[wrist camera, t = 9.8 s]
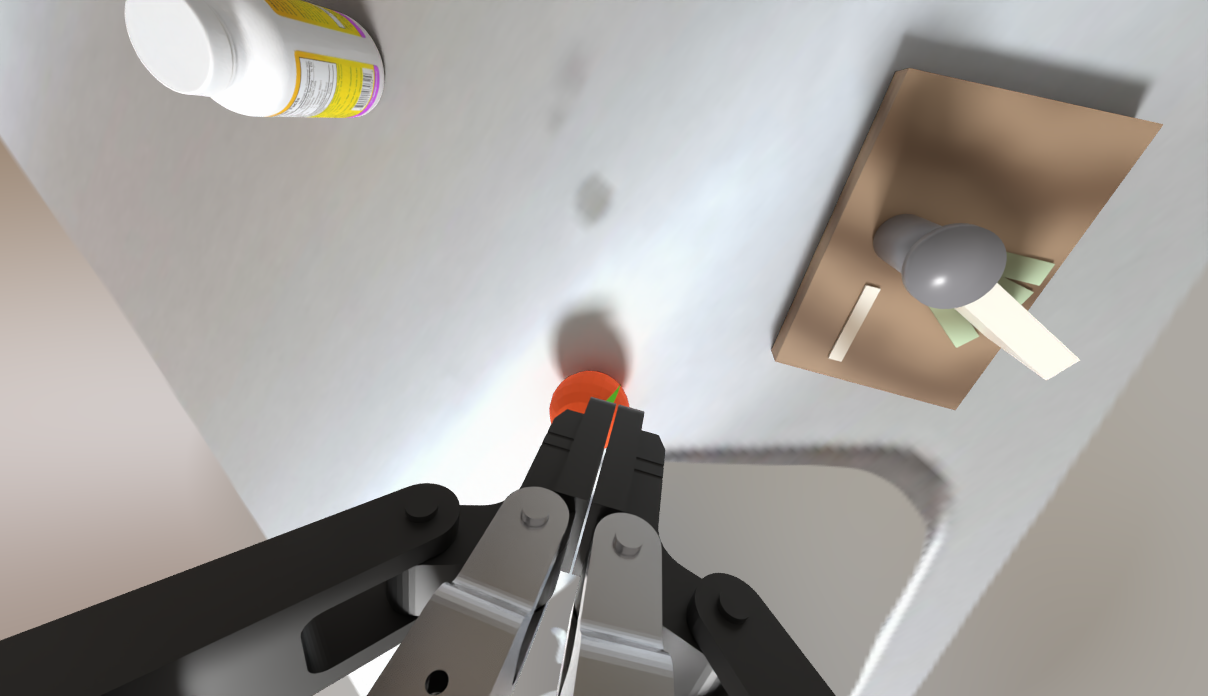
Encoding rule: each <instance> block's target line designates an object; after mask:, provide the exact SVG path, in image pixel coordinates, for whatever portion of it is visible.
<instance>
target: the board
mask: <svg viewBox="0 0 1208 696" xmlns="http://www.w3.org/2000/svg"><path fill="white" fill-rule="evenodd" d="M1162 126H1163V124H1159V123H1155V122H1150V121H1146V120H1141V119H1137V118H1132V117H1128V116H1123V115H1119V114H1114V113H1110V112H1105V111H1101V110H1096V109H1092V108H1087V107H1083V106H1078V105H1074V104H1069V103H1065V102H1060V101H1056V100H1051V99H1047V98H1042V97H1038V96H1033V95H1029V94H1024V93H1020V92H1015V91H1011V90H1006V89H1002V88H997V87H993V86H988V85H984V84H979V83H975V82H970V81H966V80H961V79H957V78H952V77H948V76H943V75H939V74H934V73H930V72H925V71H921V70H916V69H912V68H907V69H903V70H900V71H896V72H895V74H894V76H893V78H892V81H891V83H890V85H889V87H888V90H887V92H886V94H885V96H884V99H883V101H882V103H881V105H880V107H879V110H878V112H877V114H876V116H875V119H874V121H873V123H872V125H871V128H870V130H869V132H868V134H867V137H866V139H865V141H864V143H863V146H862V148H861V150H860V152H859V155H858V157H857V159H856V161H855V164H854V166H853V168H852V170H851V172H850V175H849V177H848V179H847V181H846V184H845V186H844V188H843V190H842V193H841V195H840V197H839V199H838V202H837V204H836V206H835V208H834V211H833V213H832V215H831V217H830V220H829V222H828V224H827V226H826V229H825V231H824V233H823V235H822V237H821V240H820V242H819V244H818V246H817V249H816V251H815V253H814V255H813V258H812V260H811V262H810V264H809V267H808V269H807V271H806V273H805V276H804V278H803V280H802V282H801V285H800V287H799V289H798V291H797V294H796V296H795V298H794V300H793V303H792V305H791V307H790V309H789V311H788V314H787V316H786V318H785V320H784V323H783V325H782V327H781V329H780V332H779V334H778V336H777V338H776V341H775V343H774V345H773V347H772V350H771V351H772V354H773V357H774V360H775V361H776V362H779V363H783V364H787V365H790V366H794V367H798V368H801V369H805V370H809V371H812V372H816V373H820V374H824V375H827V376H831V377H835V378H838V379H842V380H846V381H849V382H853V383H857V384H860V385H864V386H868V387H872V388H875V389H879V390H883V391H886V392H890V393H894V394H897V395H901V396H905V397H908V398H912V399H916V400H920V401H923V402H927V403H931V404H934V405H938V406H942V407H945V408H949V409H953V410H956V409H957V407H958V406H959V405H960V403H961V402H962V400H963V399H964V398H965V396H966V395H967V394H968V392H969V391H970V389H971V388H972V387H973V385H974V384H975V383H976V381H977V380H978V378H979V377H980V376H981V374H982V373H983V372H984V370H985V369H986V367H987V366H988V365H989V363H990V362H991V361H992V359H993V358H994V356H995V355H996V354H997V352H998V351H999V350H1000V348H1001V347H999V346H998V345H996V344H995V343H994V342H992V341H991V340H990V339H988V338H987V337H986V336H984V335H983V334H982V333H981V332H980V331H979V330H978V329H977V328H976V327H974V326H973V325H972V324H971V323H970V322H969V321H968V320H967V319H966V318H964V317H963V316H962V315H961V314H960V313H959V312H958V311H957V310H956V309H954V308H952V309H937V308H932V307H929V306H926V305H924V304H922V303H921V302H919V301H918V300H917V299H915V298H914V297H913V296H912V295H910V293H909V292H908V291H907V290H906V288H905V287H904V284H903V281H902V275H901V273H900V272H899V271H897V270H896V269H895V268H893V267H892V266H890V265H889V264H888V263H886V262H885V261H883V260H882V259H881V258H879V257H878V256H877V254H876V253H875V251H874V248H873V240H874V236H875V234H876V232H877V230H878V228H879V227H880V226H881V225H882V224H883V223H884V222H885V221H887V220H888V219H890V218H892V217H894V216H896V215H900V214H913V215H916V216H919V217H921V218H924V219H926V220H929V221H931V222H933V223H936V224H938V225H941V226H945V225H949V224H954V223H968V224H973V225H976V226H979V227H982V228H985V229H987V230H990V231H991V232H993V233H995V234H996V235H997V236H998V237H999V238H1000V239H1001V240H1002V242H1003V244H1004V246H1005V249H1006V254H1007V261H1006V266H1005V269H1004V272H1003V274H1002V276H1001V278H1000V279H999V281H998V282H997V283H998V284H999V285H1000V286H1001V287H1002V288H1003V289H1004V290H1005V291H1006V292H1008V293H1009V294H1010V295H1011V296H1012V297H1013V298H1014V299H1015V300H1016V301H1017V302H1018V303H1019V304H1020V305H1022V306H1023V307H1024V308H1025V309H1026V310H1027V311H1028V310H1029V308H1030V307H1031V306H1032V304H1033V303H1034V302H1035V300H1036V299H1037V297H1038V296H1039V295H1040V293H1041V292H1042V291H1043V289H1044V288H1045V286H1046V285H1047V284H1048V282H1049V281H1050V280H1051V278H1052V277H1053V275H1054V274H1055V273H1056V271H1057V270H1058V269H1059V267H1060V266H1061V264H1062V263H1063V262H1064V260H1065V259H1066V258H1067V256H1068V255H1069V253H1070V252H1071V251H1072V249H1073V248H1074V247H1075V245H1076V244H1077V242H1078V241H1079V240H1080V238H1081V237H1082V236H1083V234H1084V233H1085V231H1086V230H1087V229H1088V227H1089V226H1090V225H1091V223H1092V222H1093V221H1094V219H1095V218H1096V216H1097V215H1098V214H1099V212H1100V211H1101V210H1102V208H1103V207H1104V205H1105V204H1106V203H1107V201H1108V200H1109V199H1110V197H1111V196H1112V194H1113V193H1114V192H1115V190H1116V189H1117V188H1118V186H1119V185H1120V183H1121V182H1122V181H1123V179H1124V178H1125V177H1126V175H1127V174H1128V172H1129V171H1130V170H1131V168H1132V167H1133V166H1134V164H1135V163H1136V161H1137V160H1138V159H1139V157H1140V156H1141V155H1142V153H1143V152H1144V150H1145V149H1146V148H1147V146H1148V145H1149V144H1150V142H1151V141H1152V139H1153V138H1154V137H1155V135H1156V134H1157V133H1158V131H1159V130H1160V129H1161V127H1162Z"/></svg>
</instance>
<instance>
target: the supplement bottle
mask: <svg viewBox="0 0 1208 696" xmlns="http://www.w3.org/2000/svg"><path fill="white" fill-rule="evenodd" d="M125 21H126V27H127V31H128V35H129V38H130V41H131V43H132V45H133V47H134V50H135V52H136V53H137V55H138V57H139V58H140V60H141V62H142V63H143V64H144V66H145V67H146V68H147V69H148V70H149V72H150V73H151V74H152V75H153V76H154V77H155V78H156V79H157V80H158V81H159V82H161V83H162V84H163V85H165V86H166V87H168V88H170V89H172V90H174V91H176V92H179V93H182V94H189V95H201V96H210V97H211V98H212V99H213V100H214V101H216V102H217V103H219V104H220V105H222V106H223V107H225V108H227V109H229V110H231V111H234V112H236V113H239V114H242V115H247V116H256V117H329V118H330V117H332V118H350V117H359V116H362V115H365V114H367V113H368V112H370V111H371V110H373V109H374V107H375V106H376V105H377V104H378V102H379V100H380V98H381V96H382V92H383V88H384V69H383V63H382V60H381V56H380V54H379V51H378V49H377V47H376V45H375V43H374V41H373V40H372V38H371V37H370V35H369V34H368V33H367V31H366V30H365V29H364V28H363V27H362V26H361V25H360V24H359V23H357V22H356V21H355V20H354V19H352V18H350V17H349V16H347V15H345V14H342V13H340V12H336V11H334V10H330V9H327V8H324V7H321V6H318V5H314V4H311V3H308V2H305V1H301V0H126V3H125Z"/></svg>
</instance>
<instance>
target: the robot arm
mask: <svg viewBox="0 0 1208 696" xmlns="http://www.w3.org/2000/svg"><path fill="white" fill-rule="evenodd" d="M615 407H616V404H615V403H612V402H608V401H605V400H601V399H598V398H594V397H591V398H590V400H589V403H588V405H587V408H586V410H585V413H584V414H583V413H579V412H576V411H572V410H569V409H567V410H565V411H564V412H562V413H561V414H559V415H558V416H557V417H555V418H554V420H553V422H552V424H551V426H550V428H549V430H548V433H547V434H546V436H545V438H544V440H543V443H542V445H541V447H540V449H539V451H538V453H537V455H536V457H535V459H534V461H533V463H532V465H531V467H530V469H529V471H528V473H527V476H526V478H525V480H524V482H523V484H522V486H521V487H520V489H519V490H516V491H515V492H513V493H511V494H510V495H509V496H508V497H507V498H506V499H505V501H503V502H500V503H497V504H492V505H459V501H458V499H457V497H456V495H455V494H454V493H453V492H452V491H451V490H449V489H448V488H446V487H444V486H441V485H437V484H430V483H424V484H416V485H412V486H409V487H406V488H404V489H401V490H398V491H396V492H393V493H390V494H388V495H385V496H382V497H380V498H377V499H374V500H372V501H369V502H366V503H364V504H361V505H358V506H356V507H353V508H351V509H348V510H345V511H343V512H340V513H337V514H335V515H332V516H329V517H327V518H324V519H321V520H319V521H316V522H313V523H311V524H308V525H305V526H303V527H300V528H298V529H295V530H292V531H290V532H287V533H284V534H282V535H279V536H276V537H274V538H271V539H268V540H266V541H264V542H261V543H258V544H255V545H253V546H250V547H247V548H245V549H242V550H239V551H237V552H234V553H232V554H229V555H226V556H224V557H221V558H218V559H215V560H213V561H210V562H208V563H205V564H202V565H200V566H197V567H194V568H192V569H189V570H186V571H184V572H181V573H178V574H176V575H173V576H170V577H168V578H165V579H162V580H160V581H157V582H155V583H152V584H149V585H147V586H144V587H141V588H139V589H136V590H133V591H131V592H128V593H125V594H123V595H120V596H117V597H115V598H112V599H109V600H107V601H104V602H101V603H99V604H96V605H94V606H91V607H88V608H86V609H83V610H80V611H78V612H75V613H72V614H70V615H67V616H64V617H62V618H59V619H56V620H54V621H51V622H49V623H46V624H43V625H41V626H38V627H36V628H33V629H30V630H27V631H25V632H22V633H20V634H17V635H14V636H11V637H9V638H6V639H4V640H1V641H0V696H313V695H314V694H316V693H318V692H319V691H321V690H323V689H324V688H326V687H328V686H329V685H331V684H333V683H334V682H336V681H338V680H340V679H341V678H343V677H345V676H346V675H348V674H350V673H351V672H353V671H355V670H356V669H358V668H360V667H361V666H363V665H365V664H366V663H368V662H370V661H372V660H373V659H375V658H377V657H378V656H380V655H382V654H383V653H385V652H387V651H388V650H390V649H392V648H393V647H395V646H397V645H398V644H400V643H401V644H400V646H399V647H398V649H397V650H396V652H395V653H394V655H393V656H392V658H391V659H390V661H389V663H388V664H387V666H386V667H385V669H384V670H383V672H382V673H381V675H380V676H379V678H378V679H377V681H376V682H375V684H374V685H373V687H372V689H371V690H370V692H369V693H368V695H367V696H512V695H513V692H514V689H515V687H516V684H517V681H518V679H519V677H520V674H521V671H522V669H523V666H524V664H525V661H526V659H527V656H528V654H529V651H530V649H531V646H532V643H533V641H534V638H535V636H536V633H537V631H538V628H539V626H540V623H541V621H542V618H543V616H544V613H545V610H546V608H547V605H548V602H549V599H550V598H551V596H552V595H553V593H554V590H555V587H556V584H557V581H558V577H559V574H560V571H563V572H567V573H569V572H570V568H571V565H572V561H573V558H574V554H575V551H576V547H577V544H578V540H579V537H580V533H581V530H582V526H583V522H584V519H585V515H586V512H587V508H588V505H589V501H590V498H591V494H592V491H593V487H594V484H595V480H596V476H597V473H598V469H599V466H600V462H601V459H602V455H603V451H604V448H605V444H606V440H607V437H608V433H609V429H610V426H611V422H612V418H613V415H614V411H615ZM643 418H644V411H640V410H637V409H633V408H630V407H626V406H623V405H618V409H617V413H616V416H615V420H614V424H613V427H612V431H611V434H610V438H609V442H608V445H607V449H606V453H605V456H604V460H603V463H602V467H601V471H600V474H599V478H598V482H597V485H596V489H595V493H594V496H593V500H592V503H591V507H590V511H589V514H588V518H587V522H586V525H585V529H584V532H583V536H582V540H581V543H580V547H579V551H578V554H577V558H576V561H575V565H574V569H573V572H572V574H574V575H577V576H580V581H579V585H578V589H577V593H576V597H575V600H574V603H573V607H572V610H571V615H570V620H569V626H568V632H567V637H566V643H565V648H564V654H563V660H562V665H561V671H560V677H559V682H558V688H557V694H556V696H835V694H834V693H833V692H832V690H831V689H830V688H829V686H828V685H827V684H826V683H825V681H824V680H823V679H822V677H821V676H820V675H819V673H818V672H817V671H816V670H815V668H814V667H813V666H812V664H811V663H810V662H809V660H808V659H807V658H806V657H805V656H804V654H803V653H802V651H801V650H800V649H799V647H798V646H797V645H796V644H795V642H794V641H793V640H792V638H791V637H790V636H789V635H788V633H787V632H786V631H785V629H784V628H783V627H782V625H781V624H780V623H779V621H778V620H777V619H776V617H775V616H774V615H773V614H772V612H771V611H770V610H769V608H768V607H767V606H766V604H765V603H764V602H763V601H762V599H761V598H760V597H759V595H758V594H757V593H756V592H755V591H754V590H753V589H752V588H751V587H750V586H749V585H748V584H746V583H745V582H744V581H742V580H740V579H739V578H737V577H734V576H732V575H729V574H725V573H713V574H710V575H707V576H706V577H704V578H703V579H701V578H700V577H698V576H697V575H695V574H693V573H692V572H690V571H689V570H687V569H685V568H684V567H683V566H681V565H680V564H678V563H677V562H676V561H675V560H674V559H672V557H671V556H670V555H669V554H668V553H667V551H666V550H665V548H664V547H663V545H662V543H661V540H660V537H659V532H658V523H659V511H660V500H661V490H662V478H663V469H664V468H663V466H664V458H665V448H664V446H663V444H662V442H661V439H660V437H659V435H656V434H653V433H649V432H646V431H642V430H641V429H642V423H643Z"/></svg>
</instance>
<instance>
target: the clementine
mask: <svg viewBox="0 0 1208 696" xmlns="http://www.w3.org/2000/svg"><path fill="white" fill-rule="evenodd" d="M591 397H594V398H598V399H601V400H605V401H608V402H612V403H615V404H616V407H615V411H614V415H613V418H612V422H611V426H610V429H609V433H608V437H607V440H606V444H605V448H607V445H608V442H609V438H610V434H611V431H612V427H613V424H614V420H615V416H616V413H617V409H618V405H623V406H626V407H629V403H628V399H627V396H626V394H625V392H624V391H623V389H622V387H621V386H620V384H619V383H618V382H617V381H616V380H615V379H613V378H612V377H610V376H608V375H607V374H604V373H601V372H598V371H583V372H579V373H576V374H574V375H571V376H569V377H567V378H566V379H565V380H564V381H563V382H561V384H560V385H559V386H558V387H557V389H556V390H555V392H554V393H553V396H552V400H551V404H550V408H549V409H550V420H551V424H552V422H553V420H554V418H555V417H557V416H558V415H559V414H561V413H562V412H564V411H565V410H567V409H569V410H572V411H576V412H579V413H583V414H584V413H585V410H586V408H587V405H588V403H589V400H590V398H591Z"/></svg>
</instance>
